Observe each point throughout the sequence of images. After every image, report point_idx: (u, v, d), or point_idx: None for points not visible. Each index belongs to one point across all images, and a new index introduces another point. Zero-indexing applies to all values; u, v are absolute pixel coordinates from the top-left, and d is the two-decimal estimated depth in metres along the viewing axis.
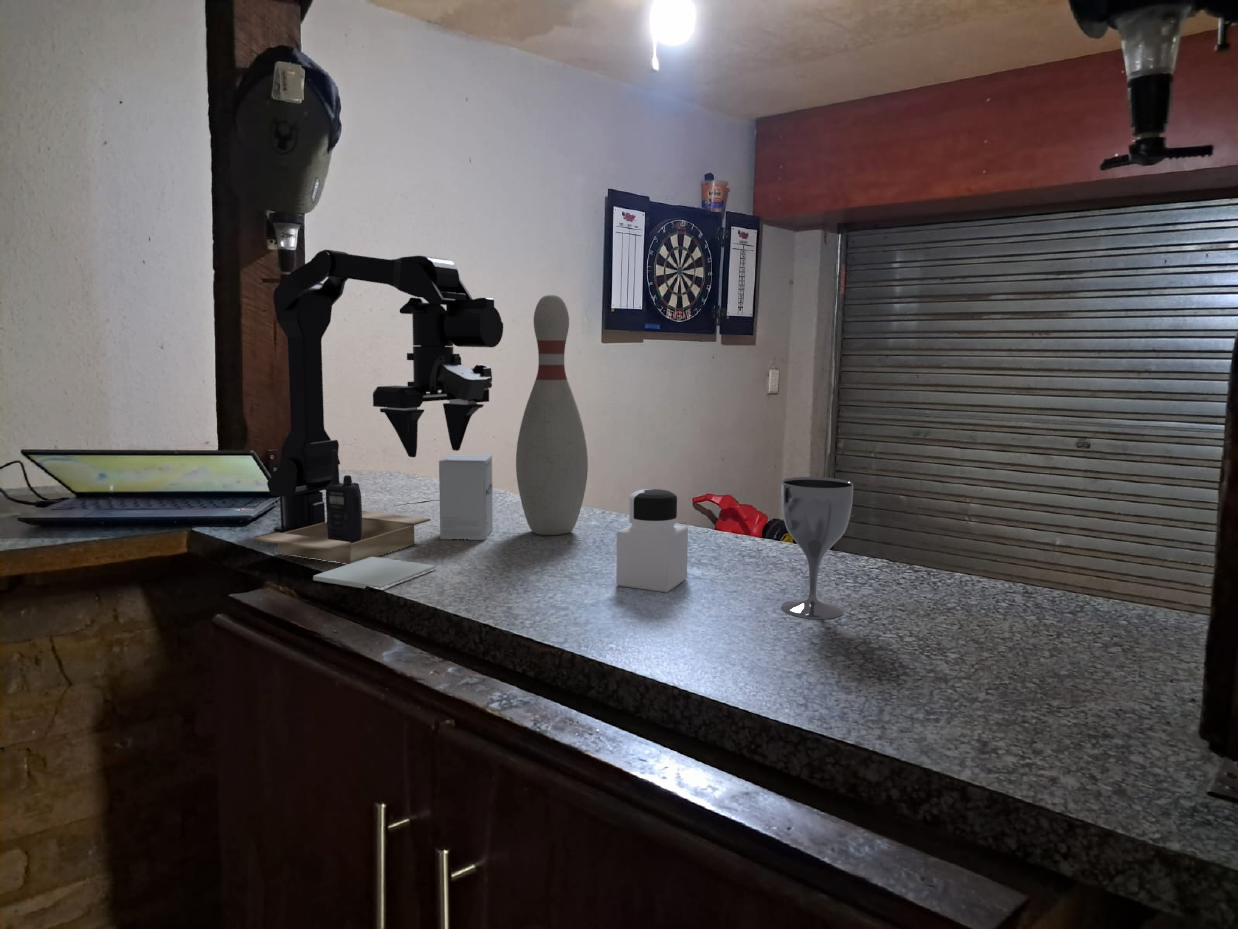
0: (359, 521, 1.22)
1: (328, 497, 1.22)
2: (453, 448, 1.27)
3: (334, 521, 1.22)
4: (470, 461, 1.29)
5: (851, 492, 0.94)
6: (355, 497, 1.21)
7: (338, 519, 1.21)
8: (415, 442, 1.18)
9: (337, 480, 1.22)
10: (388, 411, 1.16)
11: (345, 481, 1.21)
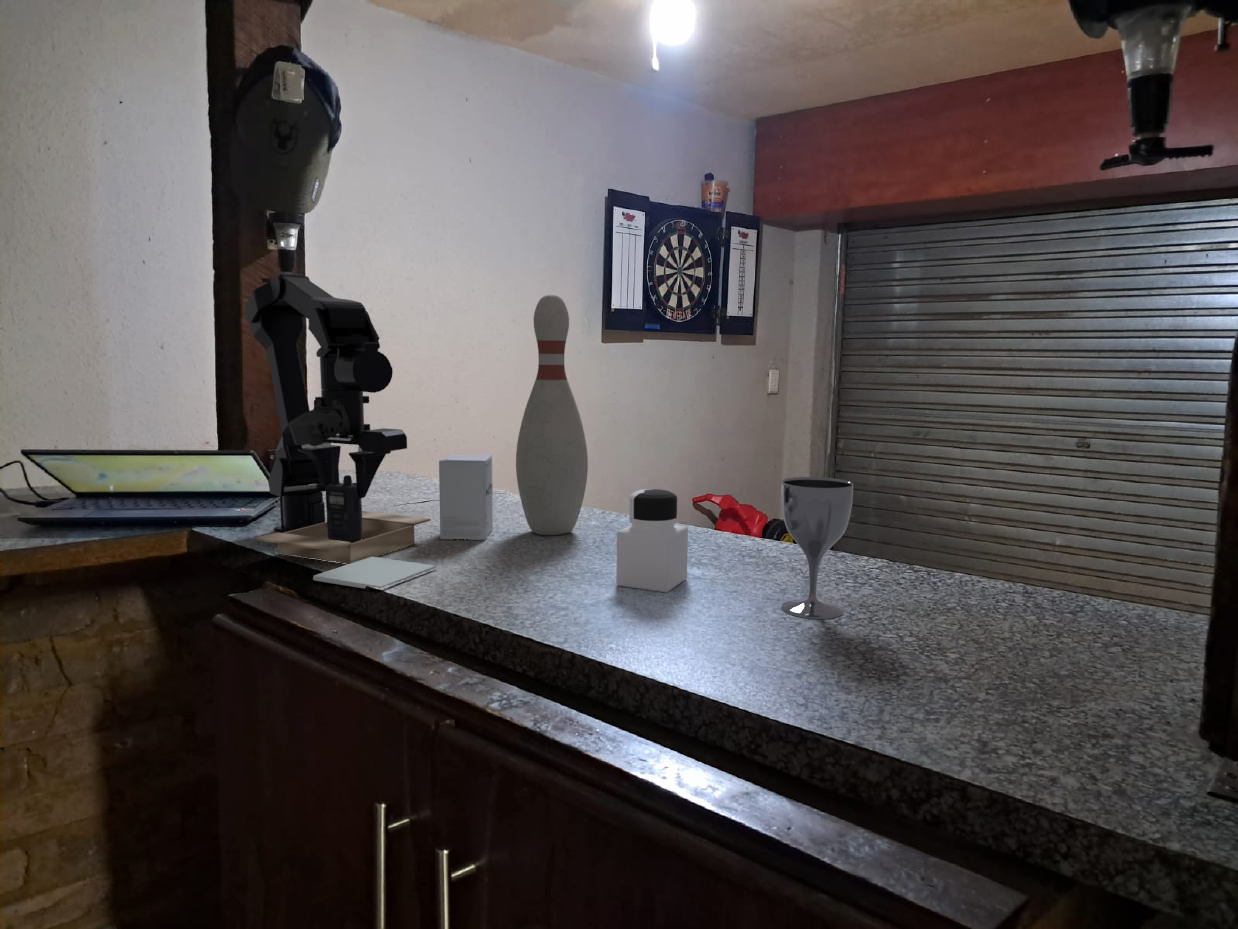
0: (359, 521, 1.22)
1: (328, 497, 1.22)
2: None
3: (334, 521, 1.22)
4: (470, 461, 1.29)
5: (851, 492, 0.94)
6: (355, 497, 1.21)
7: (338, 519, 1.21)
8: (324, 480, 1.23)
9: (337, 480, 1.22)
10: None
11: (345, 481, 1.21)
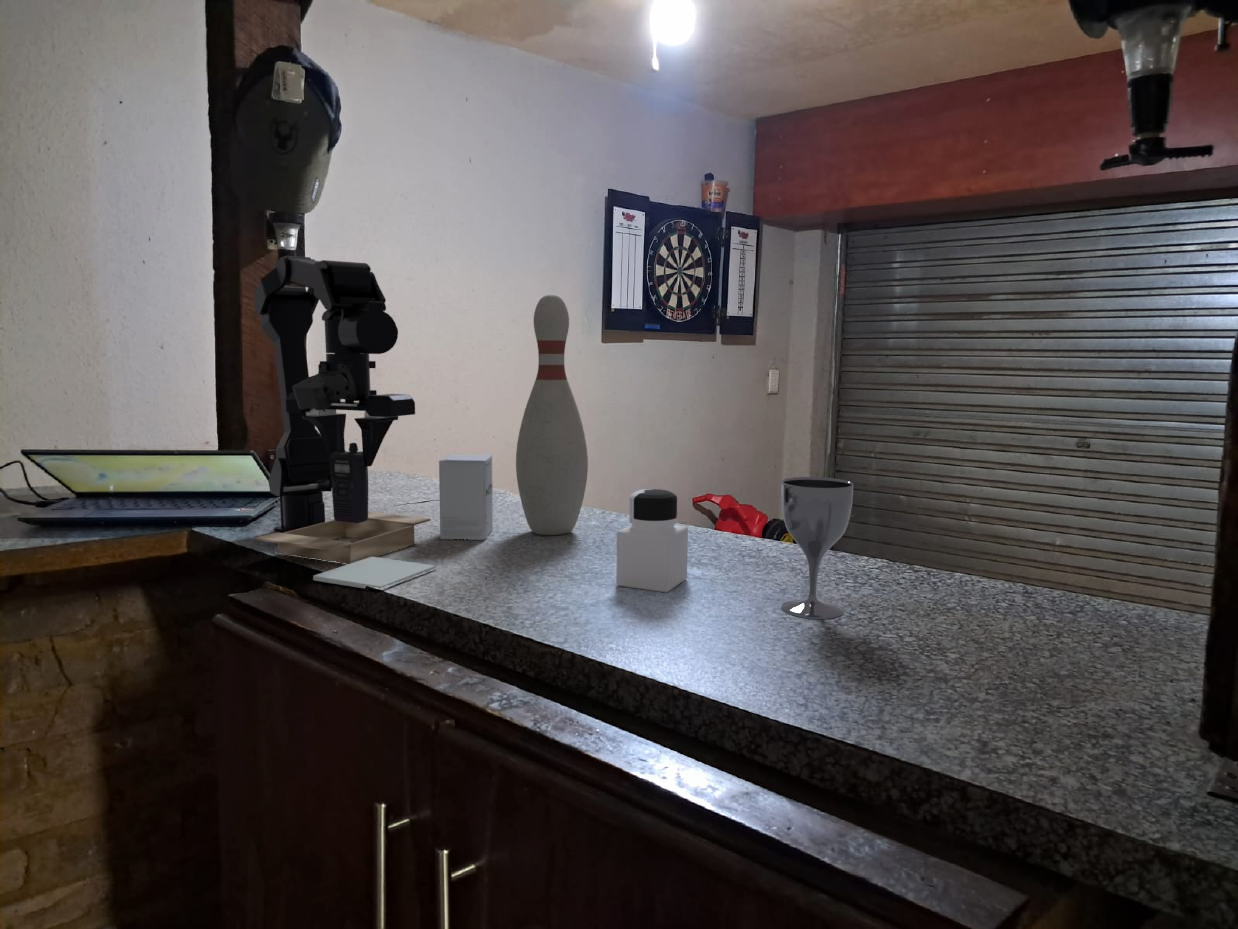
0: (365, 490, 1.18)
1: (333, 465, 1.17)
2: None
3: (339, 490, 1.17)
4: (470, 461, 1.29)
5: (851, 492, 0.94)
6: (361, 465, 1.17)
7: (344, 488, 1.17)
8: (329, 449, 1.19)
9: (342, 448, 1.18)
10: None
11: (351, 449, 1.16)
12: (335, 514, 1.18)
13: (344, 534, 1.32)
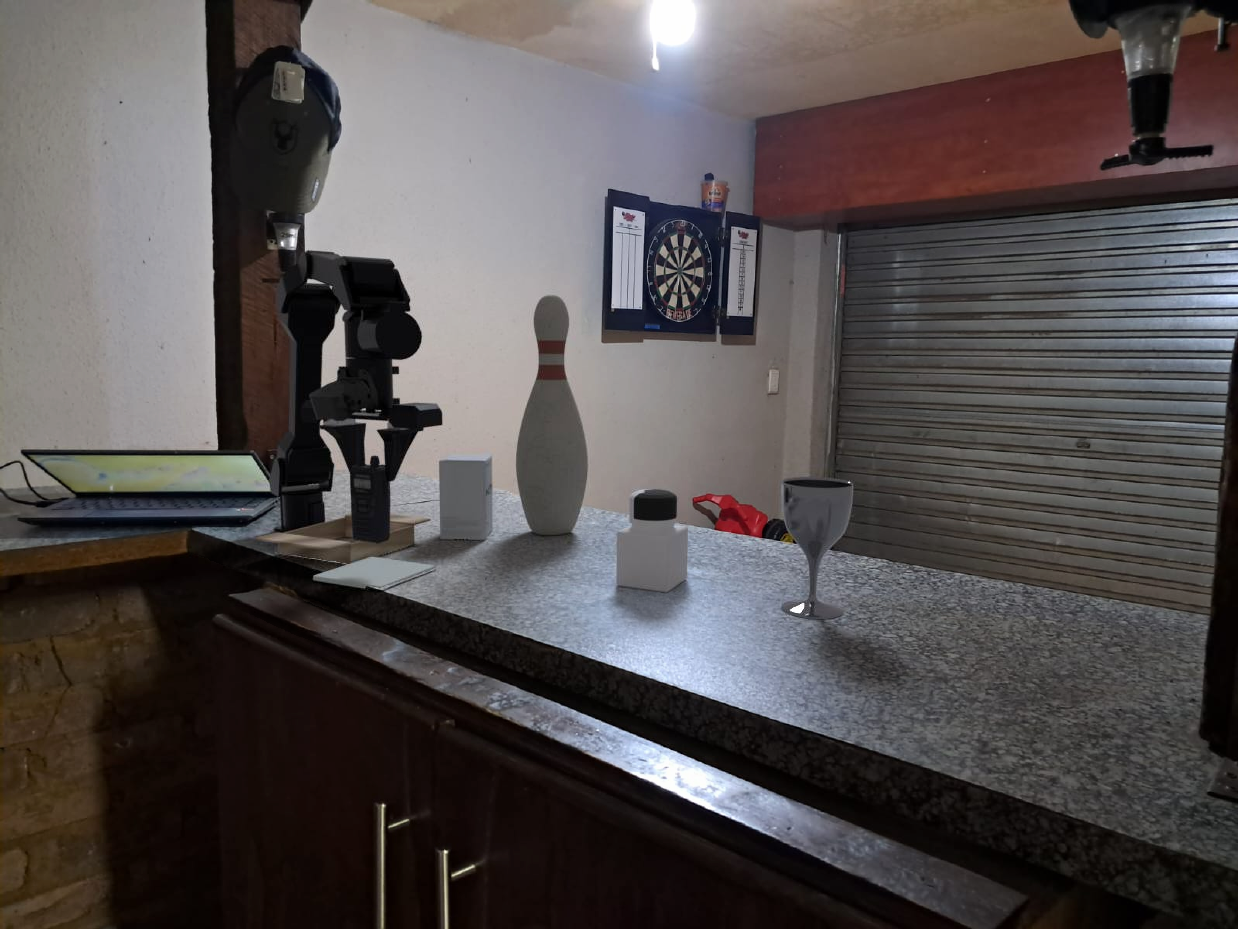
0: (387, 507, 1.08)
1: (353, 480, 1.08)
2: None
3: (359, 507, 1.08)
4: (470, 461, 1.29)
5: (851, 492, 0.94)
6: (383, 481, 1.07)
7: (364, 505, 1.07)
8: (348, 462, 1.09)
9: (363, 461, 1.08)
10: None
11: (372, 462, 1.07)
12: (354, 533, 1.09)
13: (344, 534, 1.32)
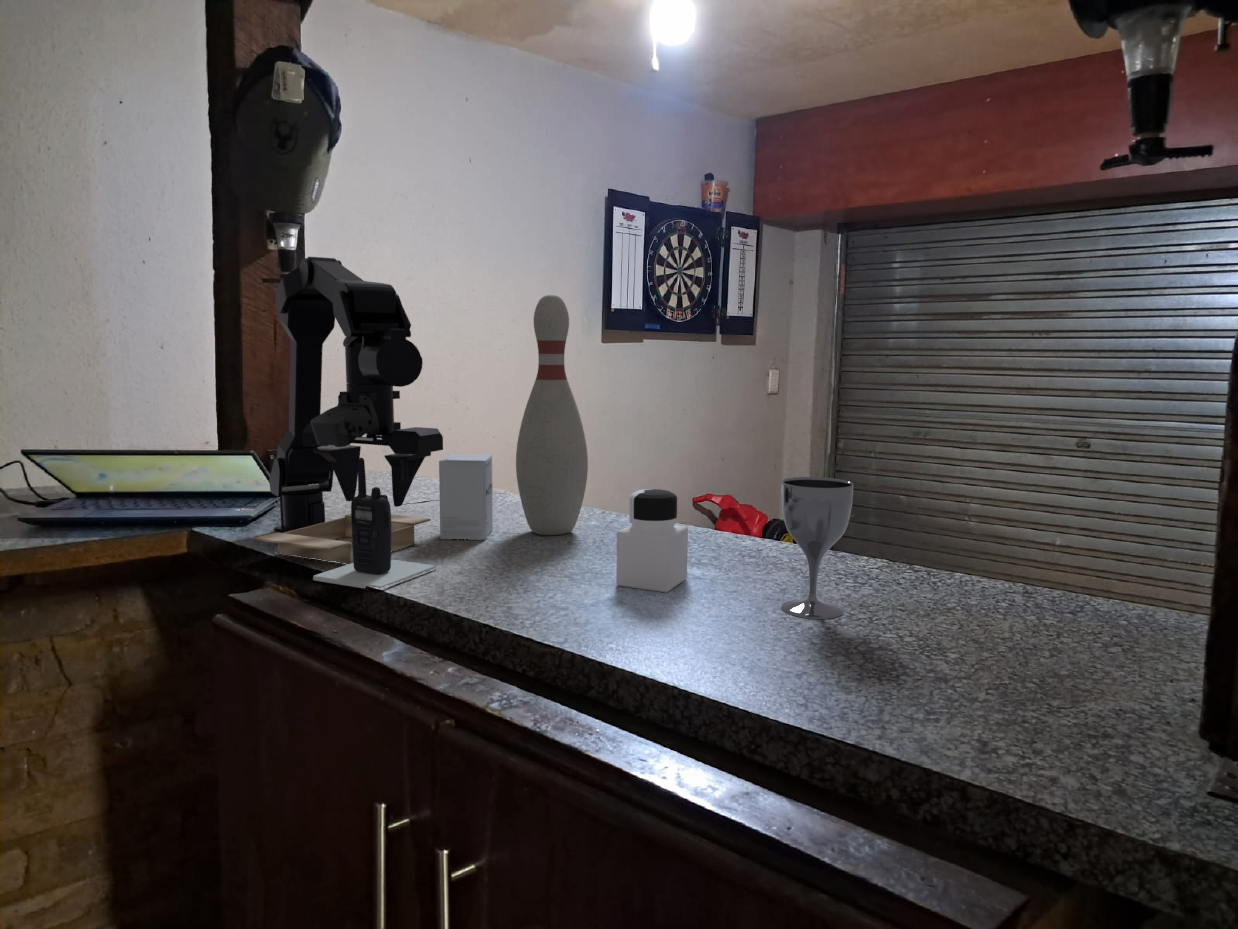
0: (389, 539, 1.09)
1: (354, 511, 1.08)
2: None
3: (360, 538, 1.08)
4: (470, 461, 1.29)
5: (851, 492, 0.94)
6: (385, 512, 1.07)
7: (365, 536, 1.08)
8: (342, 485, 1.10)
9: (364, 492, 1.08)
10: None
11: (374, 494, 1.07)
12: (355, 563, 1.09)
13: (344, 534, 1.32)
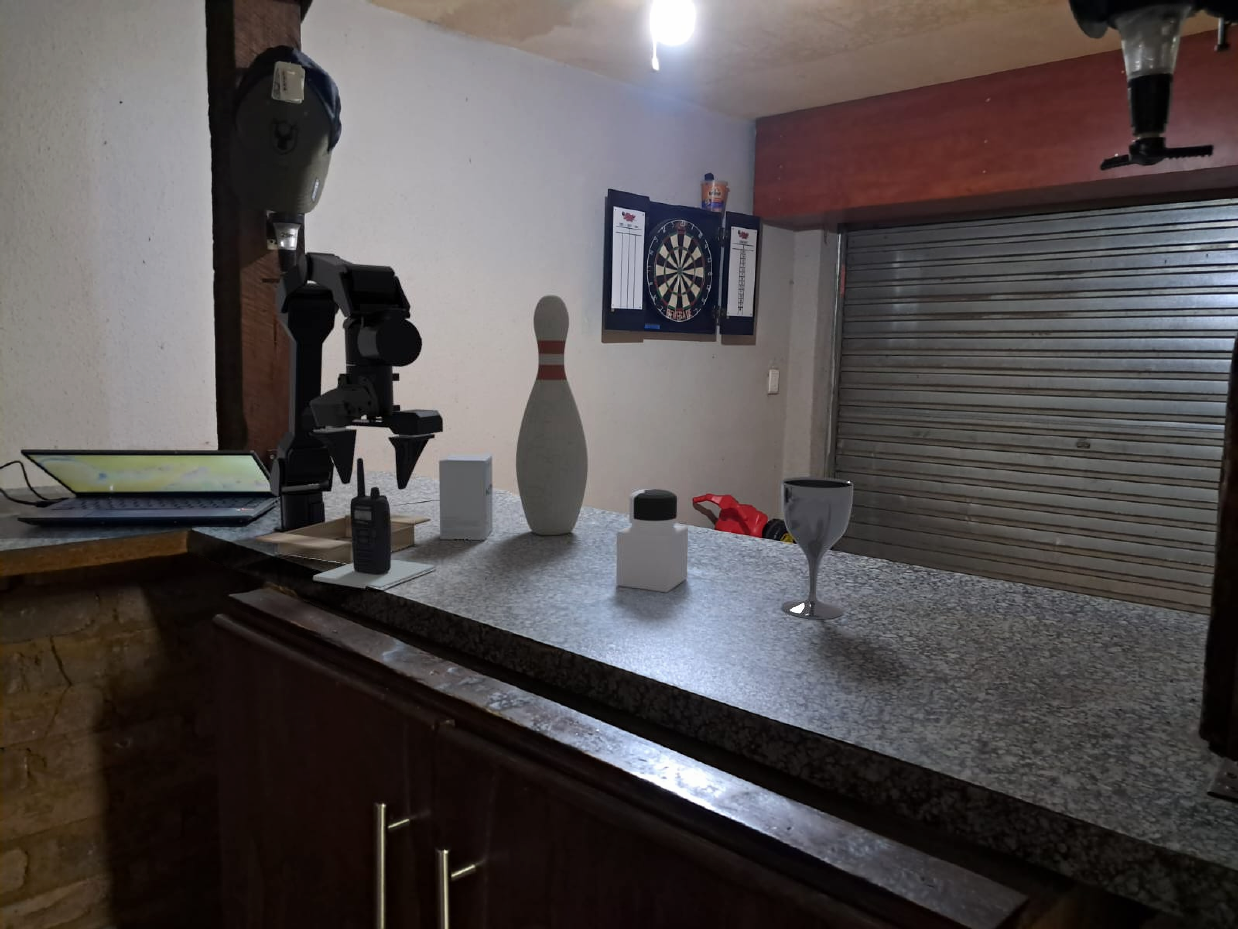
0: (388, 538, 1.09)
1: (353, 511, 1.08)
2: None
3: (360, 539, 1.08)
4: (470, 461, 1.29)
5: (851, 492, 0.94)
6: (384, 512, 1.07)
7: (365, 536, 1.08)
8: (338, 468, 1.10)
9: (363, 492, 1.08)
10: None
11: (373, 494, 1.07)
12: (355, 564, 1.09)
13: (344, 534, 1.32)
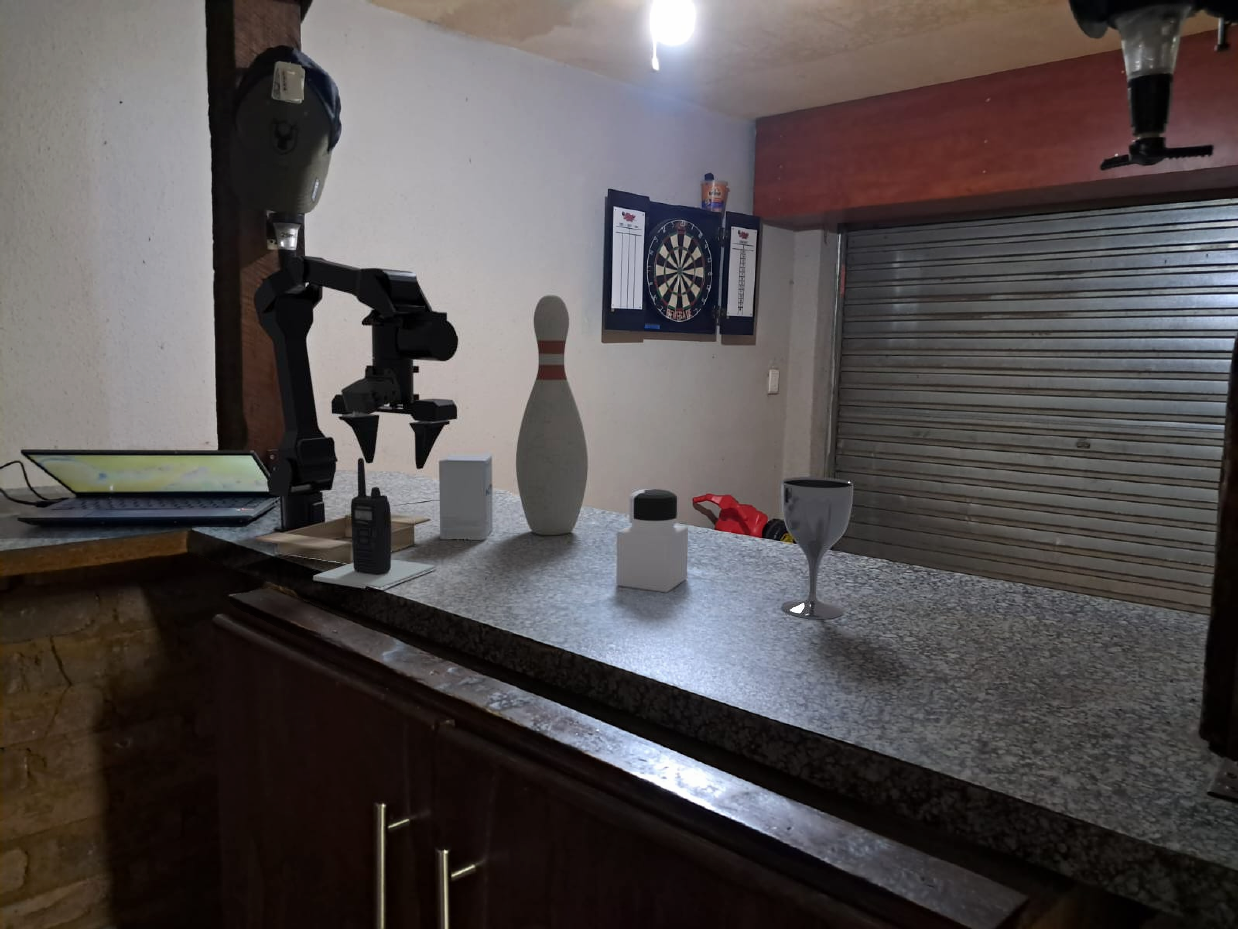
0: (388, 538, 1.09)
1: (354, 511, 1.08)
2: None
3: (360, 539, 1.08)
4: (470, 461, 1.29)
5: (851, 492, 0.94)
6: (384, 512, 1.07)
7: (365, 536, 1.08)
8: (363, 449, 1.24)
9: (364, 492, 1.09)
10: None
11: (373, 494, 1.07)
12: (355, 564, 1.09)
13: (344, 534, 1.32)
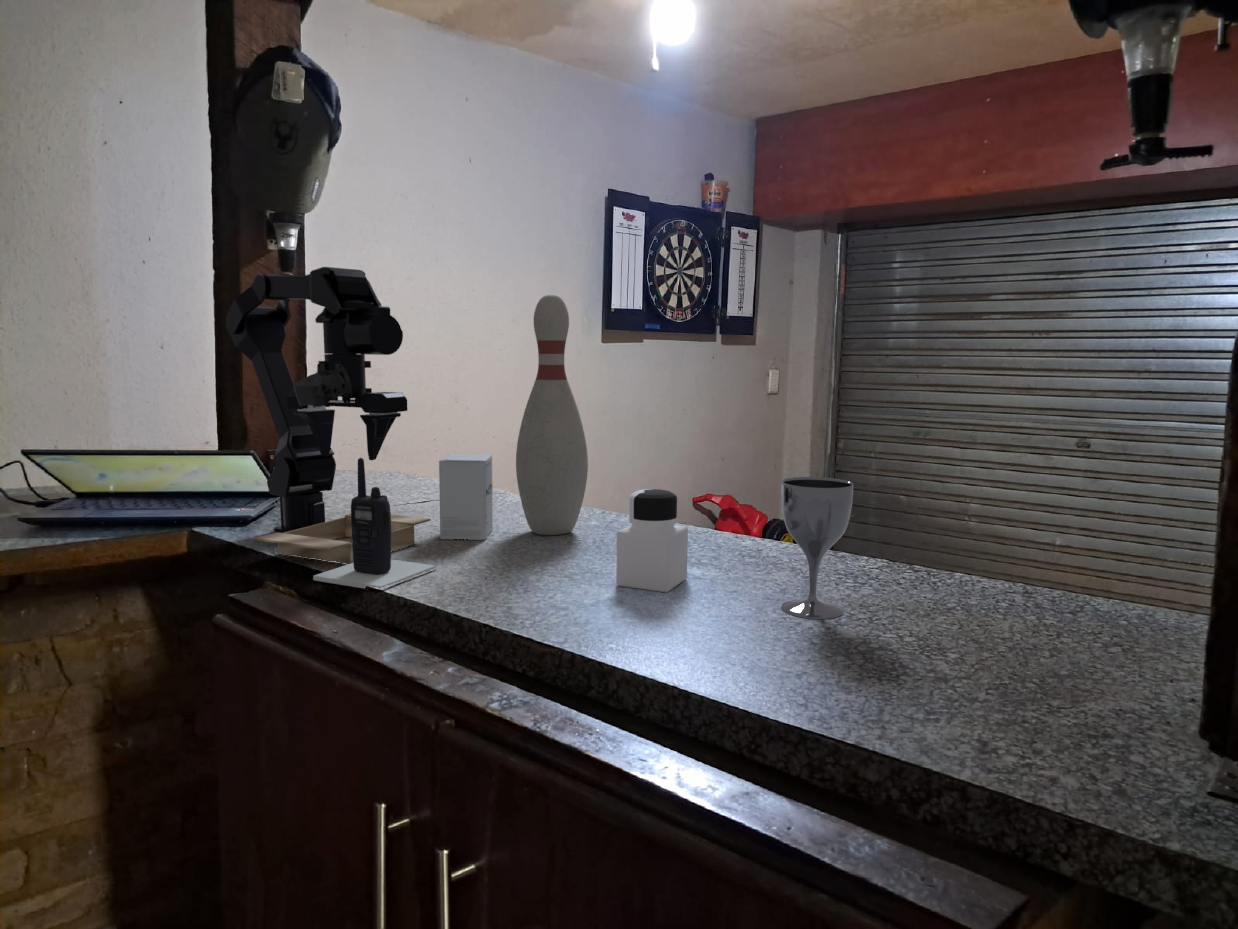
0: (388, 538, 1.09)
1: (354, 511, 1.08)
2: None
3: (360, 539, 1.08)
4: (470, 461, 1.29)
5: (851, 492, 0.94)
6: (384, 512, 1.07)
7: (365, 536, 1.08)
8: (318, 442, 1.28)
9: (364, 492, 1.09)
10: None
11: (373, 494, 1.07)
12: (355, 564, 1.09)
13: (344, 534, 1.32)
